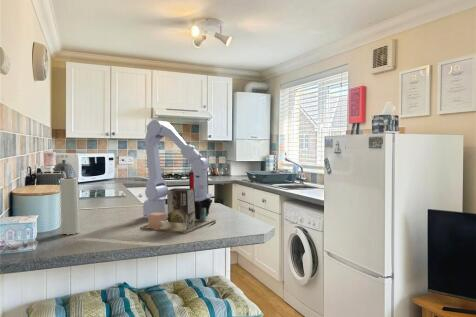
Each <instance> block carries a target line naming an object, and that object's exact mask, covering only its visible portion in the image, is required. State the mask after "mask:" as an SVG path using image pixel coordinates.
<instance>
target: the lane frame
mask: <svg viewBox="0 0 476 317" xmlns="http://www.w3.org/2000/svg"><path fill="white" fill-rule="evenodd" d="M210 221H211V222H208V223H207V222H205V223H206V224H204V223H202V224H203V225H202V224H200V225H201V226H199V225H197V226H198V227H197V226H195V227H196V228H195V227H194V229H191V230H189V231H186V232H180V231H172V230H163V229H160V227H159V228H150V227H148V224H146V225H143V226H139V229H142V230H150V231H159V232H164V233H172V234H173V233H174V234H182V235H187V234H189V233H192V232H194V231H196V230H198V229H202V228H203V227H206V226H207V228H209V227H211V226H213V225H216V219H213V220H210ZM166 222H168V217H166ZM208 225H209V226H208Z"/></svg>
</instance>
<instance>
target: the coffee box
mask: <svg viewBox="0 0 476 317" xmlns="http://www.w3.org/2000/svg"><path fill="white" fill-rule="evenodd" d="M166 198H167V199H166V200H167V203H166V204H167V218H168V221H167V222H175V223H185V224H186V230H190V229H192V228H195V227H196V220H195V192H194V189H191V188H190V187H189V188H186V187H185V188H184V187H182V188H179V187H175V188H170V189H168V190H167V195H166Z"/></svg>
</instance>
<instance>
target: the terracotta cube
mask: <svg viewBox="0 0 476 317" xmlns="http://www.w3.org/2000/svg"><path fill="white" fill-rule="evenodd" d="M166 219H167V212H166V213H159V212H154V213H152V214H149V215H148V218H147V220H148V224H147V225H148V227H150V228H159V227H160V223H159V222H160V221H166V222H167V220H166Z"/></svg>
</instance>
